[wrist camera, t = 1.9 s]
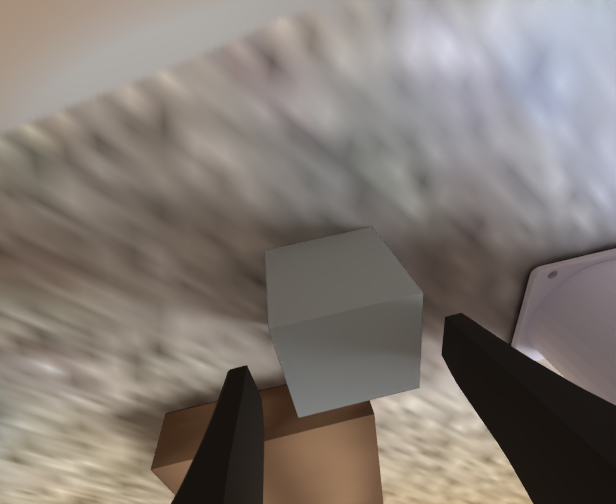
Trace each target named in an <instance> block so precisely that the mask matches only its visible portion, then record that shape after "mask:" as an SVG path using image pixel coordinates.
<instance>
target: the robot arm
mask: <svg viewBox="0 0 616 504" xmlns="http://www.w3.org/2000/svg"><path fill="white" fill-rule="evenodd" d="M442 356H443V358H444V360H445V362H446V364H447V366H448V368H449V370H450V372H451V374H452V376H453V377H454V379H455V381H456V383H457V384H458V386H459V387H460V389H461V390H462V392H463V393H464V395H465V396H466V398H467V399H468V401H469V402H470V403H471V405H472V406H473V408H474V409H475V411H476V412H477V414H478V415H479V417H480V418H481V419H482V421H483V422H484V424H485V425H486V427H487V428H488V430H489V431H490V433H491V434H492V435H493V437H494V438H495V440H496V441H497V443H498V444H499V446H500V447H501V449H502V450H503V452H504V454H505V455H506V457H507V458H508V460H509V462H510V463H511V465H512V467H513V469H514V470H515V472H516V474H517V476H518V477H519V479H520V481H521V483H522V484H523V486H524V488H525V490H526V491H527V493H528V495H529V497H530V499H531V500H532V502H533V504H616V248H615V249H611V250H606V251H602V252H598V253H594V254H589V255H585V256H581V257H577V258H572V259H568V260H564V261H560V262H555V263H551V264H547V265H543V266H539V267H537V268H535V269H534V270H533V271H532V272H531V274H530V277H529V281H528V285H527V288H526V292H525V296H524V299H523V303H522V307H521V310H520V314H519V318H518V322H517V325H516V329H515V333H514V336H513V340H512V344H511V345H509V344H507V343H506V342H504V341H503V340H501V339H500V338H498V337H497V336H495V335H494V334H492V333H491V332H489V331H488V330H486V329H485V328H483V327H482V326H480V325H479V324H477V323H476V322H474V321H473V320H471V319H470V318H468V317H467V316H465V315H464V314H462V313H459V314H455V315H451V316H447V317H445V324H444V335H443V345H442ZM543 359H546V360H547V361H548V362H549V363H550V364H551V365H552V366H553V367H555V368H556V369H557V370H558V371H559V372H560V373H561V374H562V375H563V376H564V377H565V378H566V379H565V378H563V377H562V376H560V375H558V374H556V373H555V372H553V371H551V370H549V369H548V368H546V367H544V366H543V365H541V364H539V363H538V362H536V361H539V360H543ZM263 483H264V417H263V406H262V399H261V396H260V394H259V392H258V389H257V387H256V385H255V383H254V380H253V378H252V376H251V373H250V371H249V369H248V366H242V367H238V368H234V369H230V370H229V371H228V373H227V376H226V379H225V382H224V385H223V388H222V391H221V393H220V396H219V399H218V401H217V404H216V407H215V409H214V412H213V414H212V417H211V419H210V422H209V424H208V427H207V429H206V431H205V434H204V436H203V439H202V441H201V443H200V445H199V448H198V450H197V452H196V454H195V456H194V458H193V461H192V463H191V465H190V467H189V469H188V471H187V473H186V475H185V478H184V480H183V482H182V484H181V486H180V488H179V489H178V491H177V493H176V495H175V497H174V499H173V501H172V503H171V504H263Z"/></svg>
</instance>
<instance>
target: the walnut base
mask: <svg viewBox="0 0 616 504" xmlns="http://www.w3.org/2000/svg"><path fill="white" fill-rule="evenodd" d="M259 394H260V396H261V399H262V406H263V417H264V483H263V504H383V496H382V486H381V476H380V466H379V457H378V447H377V437H376V427H375V417H374V412H373V409H372V406H371V403H370V400H368V401H364V402H360V403H356V404H352V405H348V406H344V407H340V408H336V409H332V410H328V411H324V412H320V413H316V414H312V415H308V416H304V417H300V418H298V415H297V412H296V409H295V406H294V403H293V400H292V397H291V394H290V391H289V388H288V385H283V386H279V387H275V388H271V389H267V390H263V391H259ZM216 404H217V402H213V403H209V404H205V405H201V406H197V407H193V408H189V409H184V410H180V411H176V412H172V413H168V414H166V415H165V419H164V422H163V426H162V430H161V433H160V437H159V441H158V444H157V448H156V452H155V456H154V459H153V463H152V467H151V471H152V472H153V473H154V474H155V475H156V476H157V477H158V478H159V479H160V480H161V481H162V482H163V483H164V484H165V485H166V486H167V487H168V488H169V489H170V490H171V491H172V492H173V493H174V494H175V495H176V493H177V491H178V489H179V488H180V486H181V484H182V482H183V480H184V478H185V475H186V473H187V471H188V469H189V467H190V465H191V463H192V461H193V458H194V456H195V454H196V452H197V450H198V448H199V445H200V443H201V441H202V439H203V436H204V434H205V431H206V429H207V427H208V424H209V422H210V419H211V417H212V414H213V412H214V409H215V407H216Z"/></svg>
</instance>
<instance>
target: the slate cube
mask: <svg viewBox="0 0 616 504" xmlns="http://www.w3.org/2000/svg"><path fill="white" fill-rule="evenodd" d="M265 265H266V286H267V307H268V328H269V332H270V335H271V338H272V341H273V344H274V347H275V350H276V353H277V356H278V359H279V362H280V364H281V367H282V370H283V373H284V376H285V379H286V382H287V385H288V388H289V391H290V394H291V397H292V400H293V403H294V406H295V409H296V412H297V415H298V418H300V417H304V416H308V415H312V414H316V413H320V412H324V411H328V410H332V409H336V408H340V407H344V406H348V405H352V404H356V403H360V402H364V401H368V400H372V399H376V398H380V397H384V396H388V395H392V394H396V393H400V392H404V391H408V390H413V389H417V388H420V363H421V337H422V312H423V292H422V290H421V289H420V288H419V287H418V285H417V284H416V283H415V281H414V280H413V279H412V277H411V276H410V275H409V274H408V272H407V271H406V270H405V268H404V267H403V266H402V265H401V263H400V262H399V261H398V259H397V258H396V257H395V255H394V254H393V253H392V252H391V250H390V249H389V248H388V246H387V245H386V244H385V243H384V241H383V240H382V239H381V237H380V236H379V235H378V233H377V232H376V231H375V230H374V228H373V227H367V228H363V229H358V230H354V231H350V232H345V233H341V234H336V235H332V236H327V237H323V238H318V239H314V240H309V241H305V242H301V243H296V244H292V245H287V246H283V247H278V248H274V249H269V250H265Z"/></svg>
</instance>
